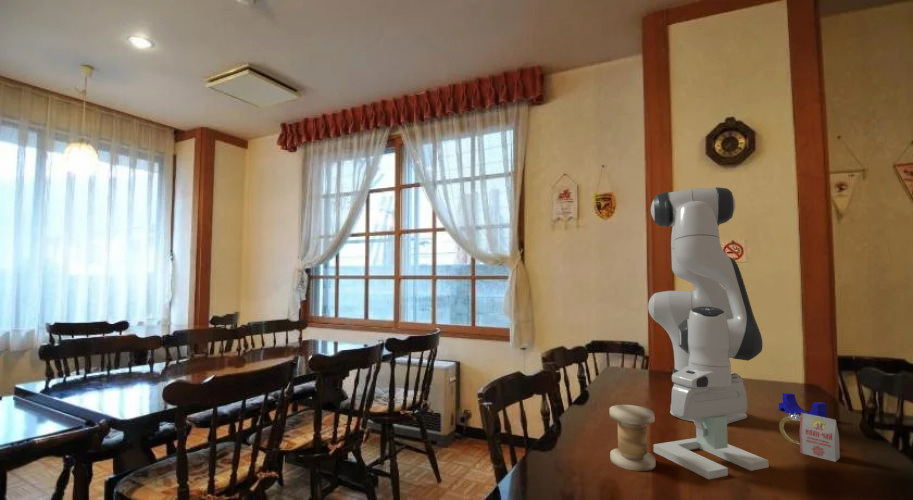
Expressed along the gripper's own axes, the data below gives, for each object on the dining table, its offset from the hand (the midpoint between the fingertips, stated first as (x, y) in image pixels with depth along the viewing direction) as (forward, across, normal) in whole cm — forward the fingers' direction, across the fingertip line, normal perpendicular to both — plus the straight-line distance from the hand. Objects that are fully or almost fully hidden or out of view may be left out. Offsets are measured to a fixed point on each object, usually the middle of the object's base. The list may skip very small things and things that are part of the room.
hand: (711, 434), depth 105 cm
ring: (+6, -30, -1) cm, 31 cm away
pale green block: (+2, 0, 0) cm, 2 cm away
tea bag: (+7, -27, +6) cm, 29 cm away
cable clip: (+6, -55, -16) cm, 58 cm away
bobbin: (+7, +18, -6) cm, 20 cm away
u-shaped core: (+6, 0, -1) cm, 7 cm away
